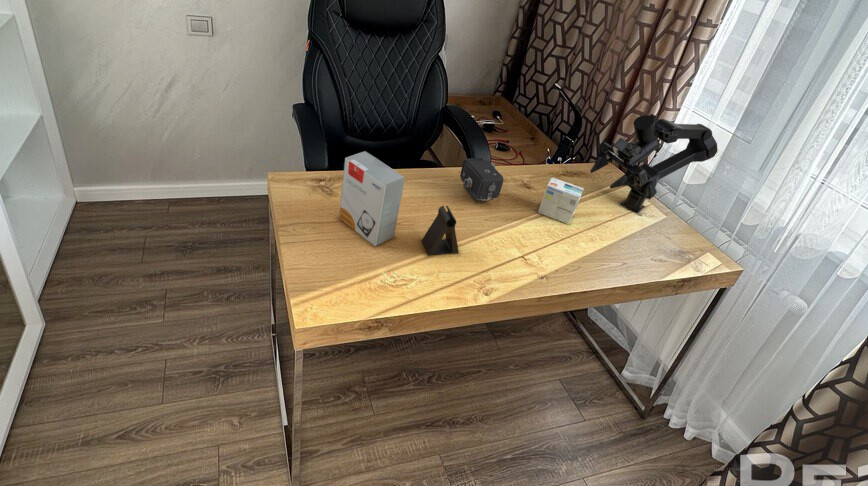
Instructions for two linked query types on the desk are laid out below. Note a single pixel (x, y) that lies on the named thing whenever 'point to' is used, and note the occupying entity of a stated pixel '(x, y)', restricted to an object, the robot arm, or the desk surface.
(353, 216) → the hard drive box
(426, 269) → the desk surface
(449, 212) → the phone stand
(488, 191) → the camera
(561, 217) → the light bulb box
